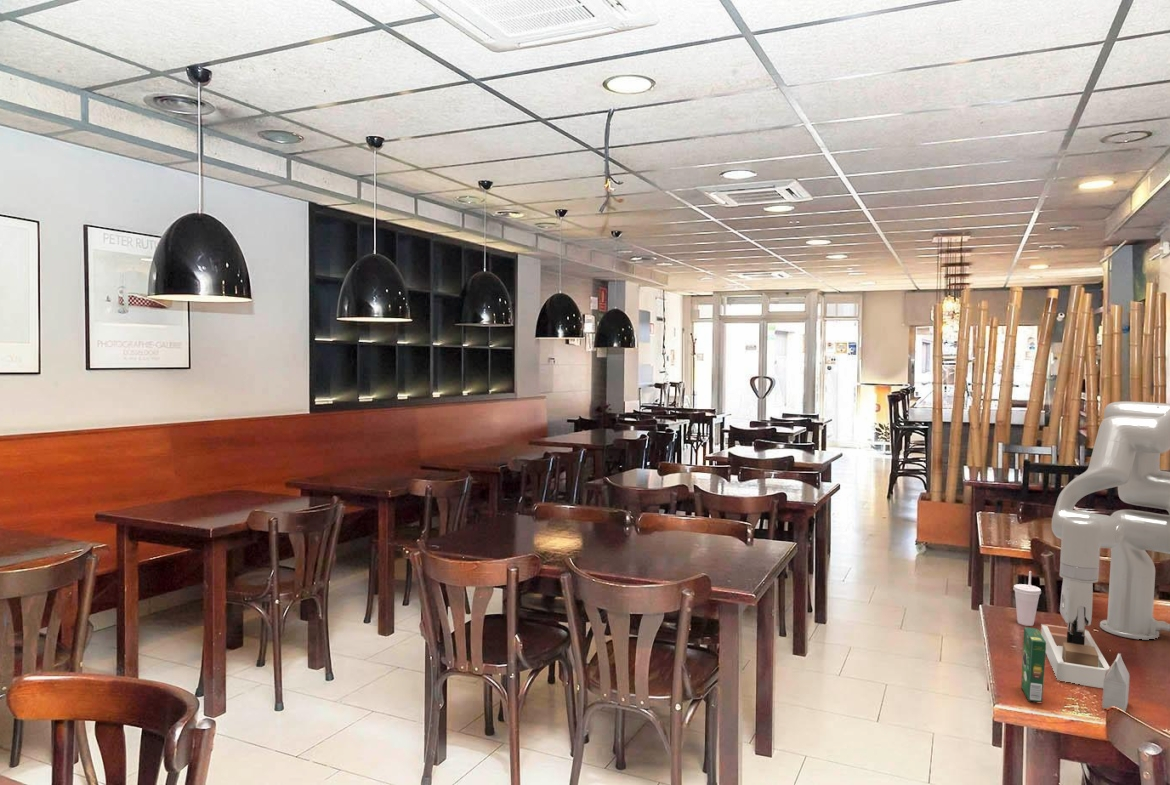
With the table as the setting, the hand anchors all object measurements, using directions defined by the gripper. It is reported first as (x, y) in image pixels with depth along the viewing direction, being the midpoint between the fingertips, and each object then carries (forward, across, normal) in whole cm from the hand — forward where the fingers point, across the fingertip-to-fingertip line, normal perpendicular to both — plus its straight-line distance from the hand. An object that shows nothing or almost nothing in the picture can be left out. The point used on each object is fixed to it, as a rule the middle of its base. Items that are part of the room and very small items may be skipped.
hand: (1075, 650), depth 180 cm
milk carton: (+3, +22, +4) cm, 22 cm away
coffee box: (+3, +24, -11) cm, 26 cm away
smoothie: (+4, -27, -7) cm, 28 cm away
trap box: (+3, -1, 0) cm, 3 cm away
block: (+1, +8, 0) cm, 9 cm away
